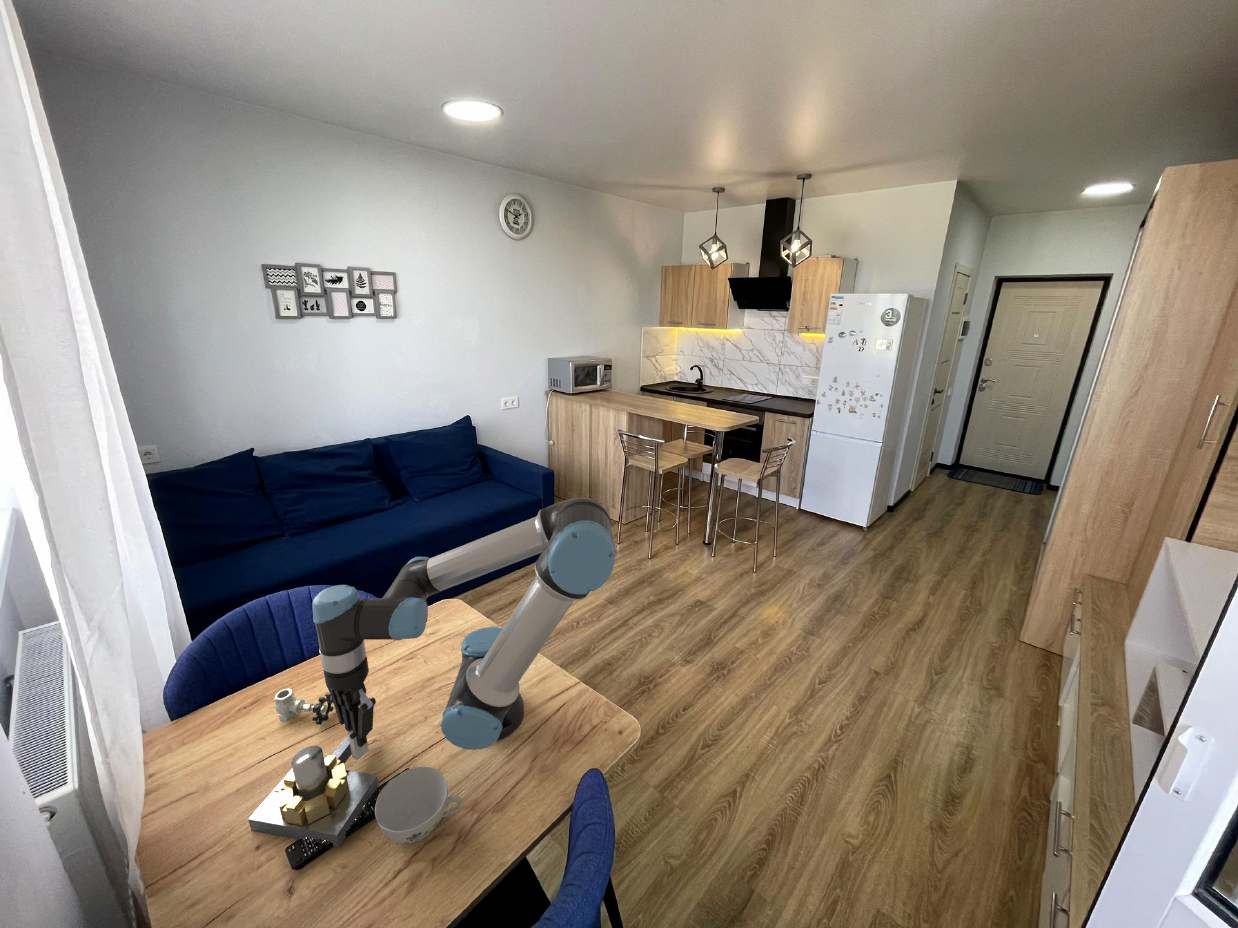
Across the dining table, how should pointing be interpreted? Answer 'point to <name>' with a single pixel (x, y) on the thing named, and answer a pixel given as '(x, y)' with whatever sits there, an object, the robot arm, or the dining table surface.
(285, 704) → the valve
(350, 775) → the plate
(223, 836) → the dining table surface
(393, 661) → the dining table surface
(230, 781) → the dining table surface
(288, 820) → the grey bar gold ring
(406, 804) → the teacup
